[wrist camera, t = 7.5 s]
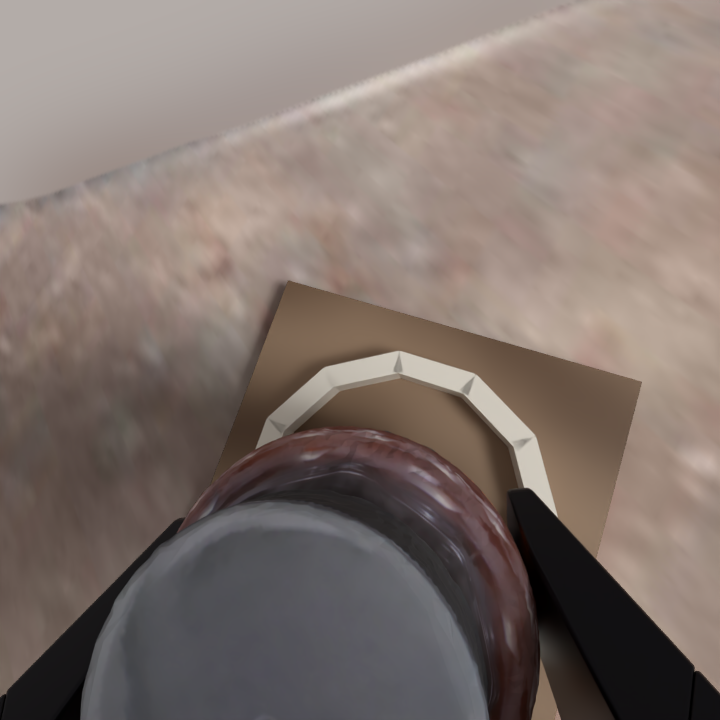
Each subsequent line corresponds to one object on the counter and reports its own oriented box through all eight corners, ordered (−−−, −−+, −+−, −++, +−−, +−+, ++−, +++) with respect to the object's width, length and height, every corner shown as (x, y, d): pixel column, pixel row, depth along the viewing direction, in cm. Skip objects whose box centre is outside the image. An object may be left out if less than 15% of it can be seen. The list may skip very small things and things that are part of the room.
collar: (494, 719, 15) (500, 742, 14) (215, 589, 17) (199, 600, 16) (579, 412, 16) (591, 408, 15) (311, 329, 19) (302, 321, 18)
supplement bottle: (526, 546, 14) (820, 845, 3) (385, 677, 14) (211, 1424, 3) (397, 404, 16) (309, 290, 5) (268, 521, 16) (-117, 674, 5)
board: (527, 779, 15) (533, 801, 14) (174, 608, 18) (159, 617, 17) (630, 386, 17) (641, 381, 16) (295, 288, 20) (288, 280, 19)
